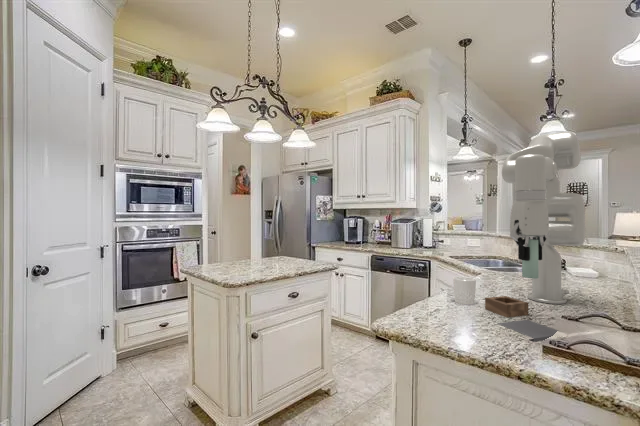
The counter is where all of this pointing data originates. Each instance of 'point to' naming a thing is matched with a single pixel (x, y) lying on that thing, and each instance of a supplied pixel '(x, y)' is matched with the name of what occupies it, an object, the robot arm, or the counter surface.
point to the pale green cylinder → (531, 261)
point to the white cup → (464, 290)
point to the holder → (506, 306)
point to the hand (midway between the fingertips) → (530, 259)
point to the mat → (530, 329)
